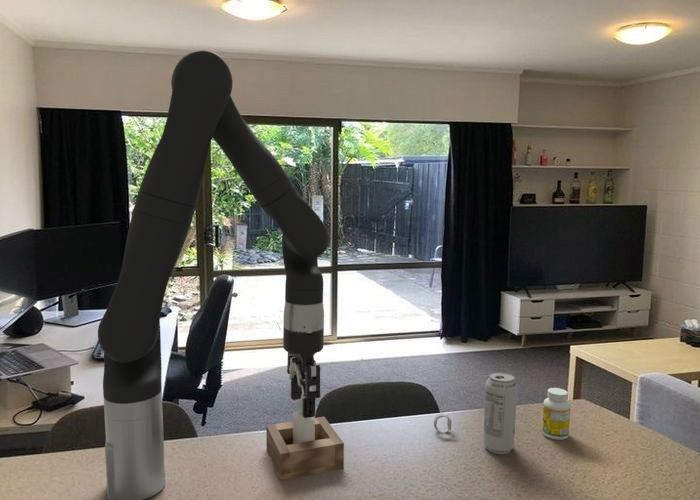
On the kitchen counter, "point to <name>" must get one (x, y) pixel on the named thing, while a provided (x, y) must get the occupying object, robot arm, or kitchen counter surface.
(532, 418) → the kitchen counter surface
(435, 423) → the smartwatch
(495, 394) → the energy drink can
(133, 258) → the robot arm
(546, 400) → the supplement bottle
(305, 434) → the eye dropper bottle
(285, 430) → the socket block
